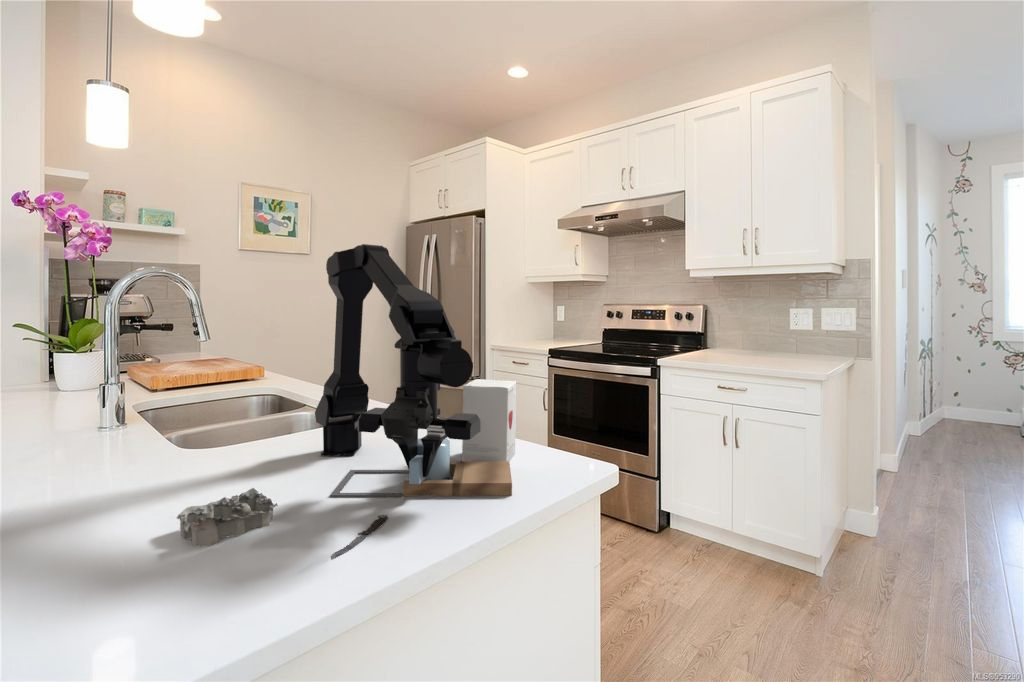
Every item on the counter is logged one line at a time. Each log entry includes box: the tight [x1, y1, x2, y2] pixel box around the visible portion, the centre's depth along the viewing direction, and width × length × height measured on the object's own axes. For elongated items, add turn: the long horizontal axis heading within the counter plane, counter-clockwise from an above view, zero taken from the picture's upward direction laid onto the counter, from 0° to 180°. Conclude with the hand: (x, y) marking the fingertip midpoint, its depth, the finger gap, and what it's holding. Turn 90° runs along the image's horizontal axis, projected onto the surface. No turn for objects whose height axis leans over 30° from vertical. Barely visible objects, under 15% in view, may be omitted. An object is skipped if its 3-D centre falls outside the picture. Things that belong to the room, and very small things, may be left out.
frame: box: [329, 469, 409, 498], centre depth 87 cm, size 11×12×1 cm
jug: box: [408, 437, 451, 484], centre depth 85 cm, size 11×6×7 cm, turn 170°
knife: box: [330, 514, 389, 561], centre depth 66 cm, size 17×1×3 cm
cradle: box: [402, 460, 513, 497], centre depth 87 cm, size 17×11×2 cm, turn 93°
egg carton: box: [176, 487, 279, 548], centre depth 69 cm, size 11×8×4 cm
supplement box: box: [461, 378, 517, 462], centre depth 101 cm, size 9×9×15 cm
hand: (419, 476), depth 82 cm, fingers closed on jug, 2 cm apart
